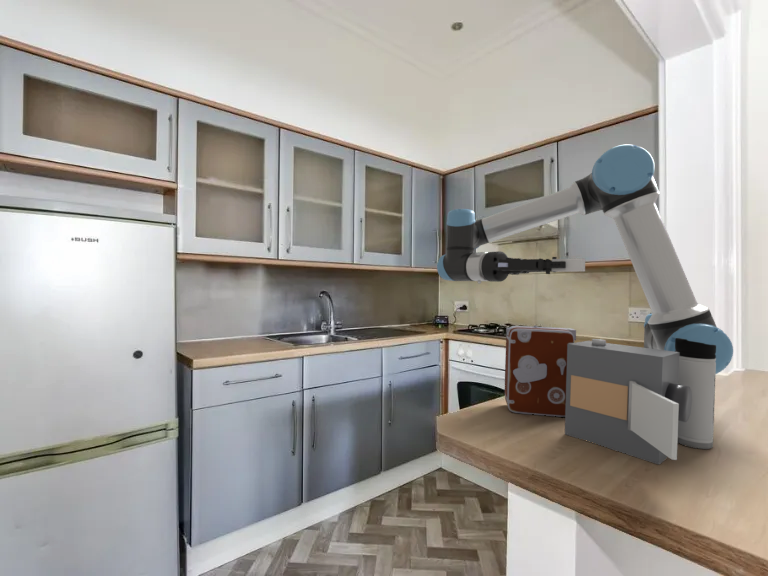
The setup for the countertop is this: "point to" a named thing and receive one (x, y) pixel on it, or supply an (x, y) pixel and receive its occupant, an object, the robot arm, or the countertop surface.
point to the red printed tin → (537, 369)
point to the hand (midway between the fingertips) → (583, 264)
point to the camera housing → (618, 393)
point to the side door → (653, 419)
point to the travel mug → (697, 392)
